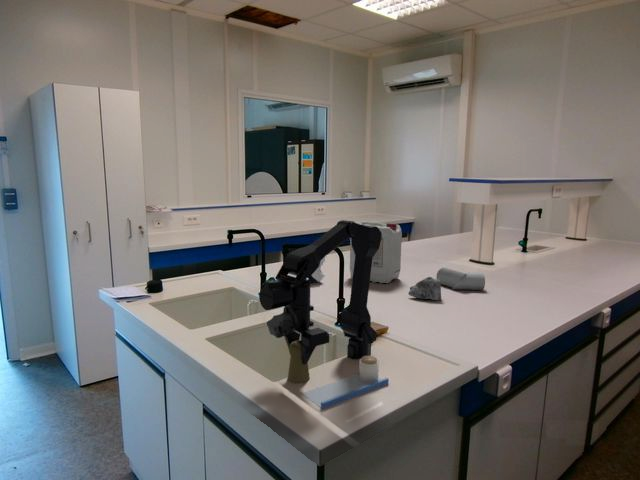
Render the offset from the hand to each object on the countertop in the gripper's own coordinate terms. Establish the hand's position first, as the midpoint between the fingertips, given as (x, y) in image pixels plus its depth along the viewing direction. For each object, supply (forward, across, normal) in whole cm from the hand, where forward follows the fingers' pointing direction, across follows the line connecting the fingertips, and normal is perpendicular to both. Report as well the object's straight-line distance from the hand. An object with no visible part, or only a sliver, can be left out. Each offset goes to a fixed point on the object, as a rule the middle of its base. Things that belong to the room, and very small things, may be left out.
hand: (298, 360), depth 113 cm
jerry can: (+6, -73, +97) cm, 122 cm away
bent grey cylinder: (+6, -37, +119) cm, 125 cm away
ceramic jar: (+5, +11, +14) cm, 19 cm away
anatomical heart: (+6, -85, +68) cm, 109 cm away
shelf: (+6, +11, +6) cm, 14 cm away
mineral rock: (+6, -33, +90) cm, 96 cm away
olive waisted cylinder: (+6, 0, 0) cm, 6 cm away
